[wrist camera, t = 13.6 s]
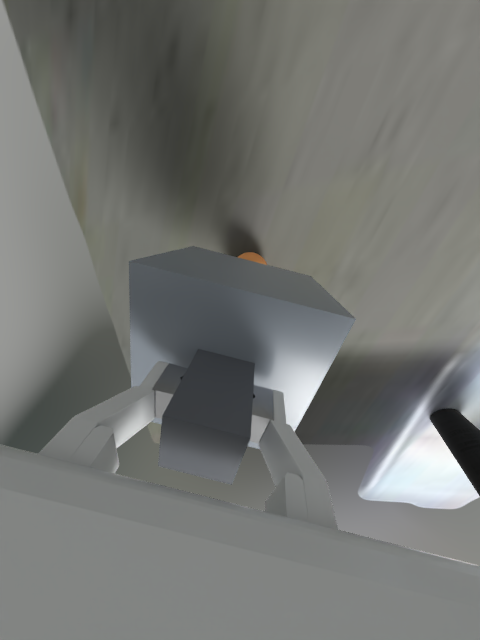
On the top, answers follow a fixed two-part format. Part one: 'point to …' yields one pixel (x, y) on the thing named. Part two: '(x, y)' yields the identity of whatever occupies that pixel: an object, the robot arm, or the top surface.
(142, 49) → the top surface
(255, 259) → the ball
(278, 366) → the grey box with knob
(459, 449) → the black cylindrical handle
